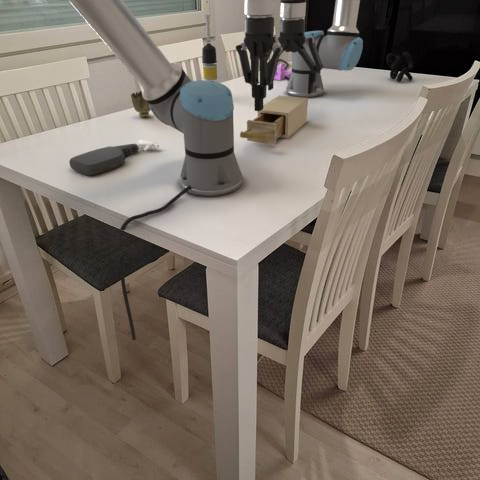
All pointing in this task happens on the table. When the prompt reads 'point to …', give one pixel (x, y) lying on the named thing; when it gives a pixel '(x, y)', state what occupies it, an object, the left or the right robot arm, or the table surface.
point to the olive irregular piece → (140, 104)
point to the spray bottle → (106, 157)
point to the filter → (209, 57)
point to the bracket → (282, 72)
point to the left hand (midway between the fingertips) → (258, 109)
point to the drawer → (265, 128)
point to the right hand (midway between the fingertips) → (290, 91)
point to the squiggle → (399, 66)
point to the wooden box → (288, 112)
